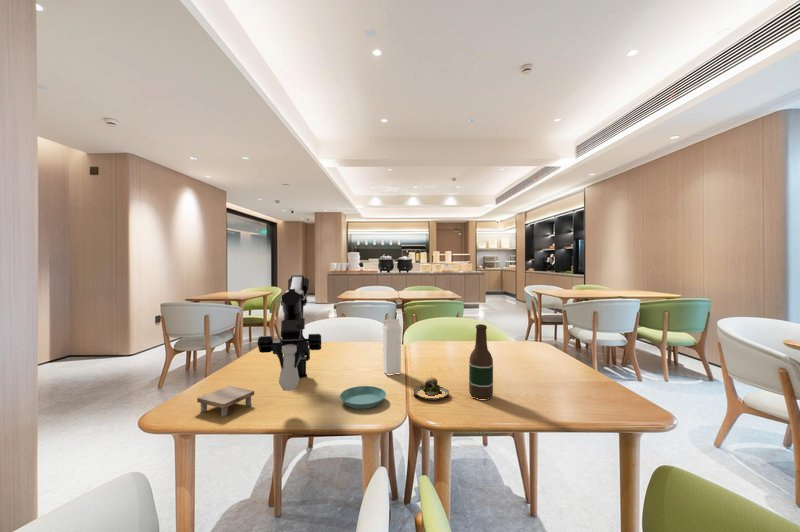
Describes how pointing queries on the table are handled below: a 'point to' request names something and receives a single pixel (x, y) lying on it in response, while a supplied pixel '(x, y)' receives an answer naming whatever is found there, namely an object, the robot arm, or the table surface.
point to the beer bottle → (481, 367)
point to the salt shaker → (289, 368)
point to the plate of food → (431, 388)
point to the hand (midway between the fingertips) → (288, 367)
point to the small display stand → (225, 398)
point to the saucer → (363, 397)
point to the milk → (392, 346)
